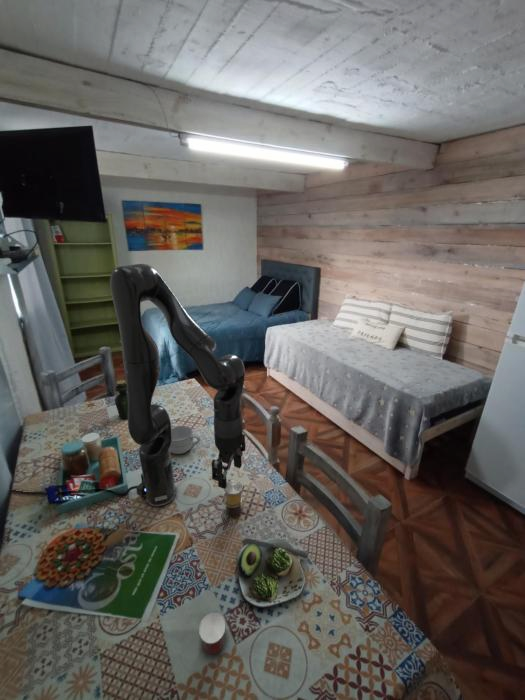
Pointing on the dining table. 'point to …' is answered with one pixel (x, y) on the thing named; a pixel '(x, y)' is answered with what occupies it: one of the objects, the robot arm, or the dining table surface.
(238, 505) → the base pod
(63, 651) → the dining table surface
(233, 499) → the gold pod
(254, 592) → the salad plate
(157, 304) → the robot arm
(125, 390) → the potion bottle
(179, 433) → the teacup
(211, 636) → the burgundy pod
